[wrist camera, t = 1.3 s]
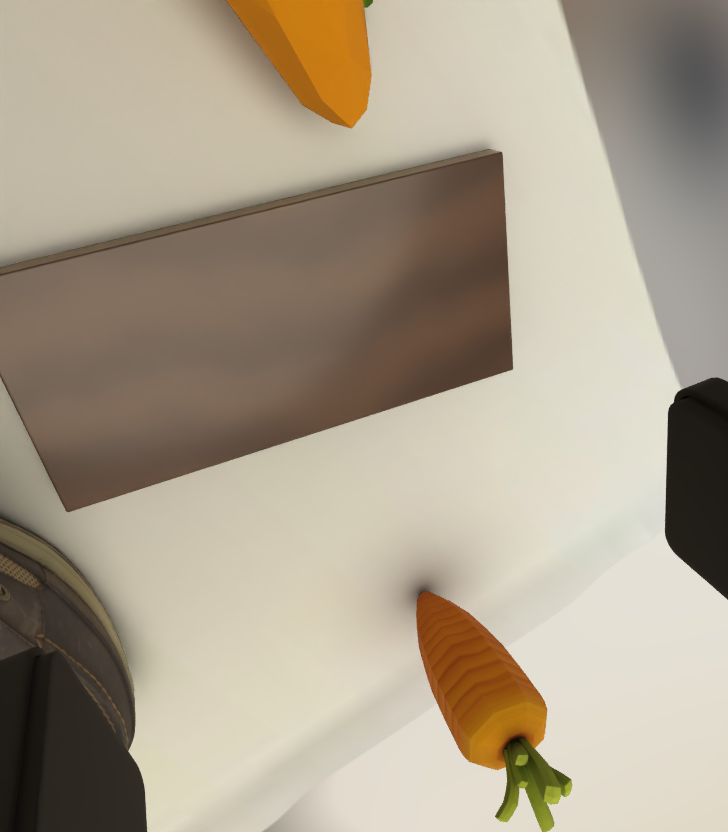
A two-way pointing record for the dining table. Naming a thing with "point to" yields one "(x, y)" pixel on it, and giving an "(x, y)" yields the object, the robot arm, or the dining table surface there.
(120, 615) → the dining table surface
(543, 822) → the carrot
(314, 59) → the corn
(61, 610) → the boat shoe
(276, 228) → the board
